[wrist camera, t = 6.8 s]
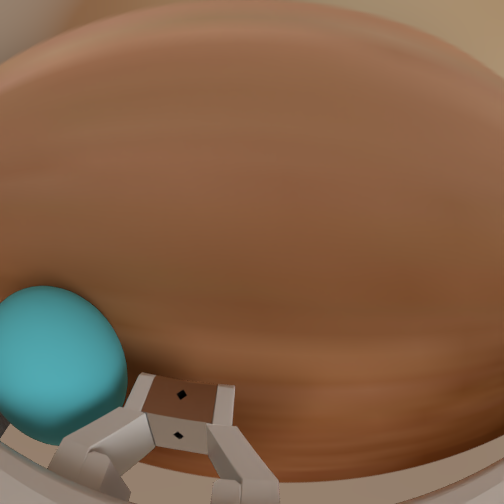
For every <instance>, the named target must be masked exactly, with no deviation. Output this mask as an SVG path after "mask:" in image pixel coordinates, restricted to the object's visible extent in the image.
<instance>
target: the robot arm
mask: <svg viewBox="0 0 504 504" xmlns="http://www.w3.org/2000/svg"><path fill="white" fill-rule="evenodd" d="M234 396H235V385H225V384H215V383H205V382H197V381H189V380H187V381H186V380H180V379H175V378H169V377H164V376H159V375H153V374H148V373H144V372H142V373H141V374H139V376H138V378H137V380H136V382H135V384H134V386H133V388H132V390H131V393H130V395H129V397H128V399H127V401H126V403H125V406H124V408H123V407H118V408H116V409H115V410H113V411H111V412H109V413H108V414H106V415H104V416H102V417H101V418H99V419H97V420H95V421H93V422H92V423H90V424H88V425H86V426H84V427H83V428H81V429H79V430H77V431H75V432H73V433H71V434H70V435H68V436H66V437H64V438H63V440H62V441H61V443H60V445H59V447H58V449H57V451H56V453H55V455H54V457H53V458H52V461H51V462H50V464H49V466H48V468H47V469H46V468H44V467H42V466H41V465H39V464H37V463H35V462H33V461H32V460H30V459H28V458H26V457H25V456H23V455H21V454H20V453H18V452H16V451H15V450H13V449H12V448H10V447H8V446H7V445H5V444H4V443H2V442H1V441H0V504H135V503H132V502H128V501H129V498H130V494H131V491H130V490H129V488H128V487H127V486H126V484H125V483H124V481H123V480H122V478H121V477H120V476H122V475H123V474H124V473H125V472H127V471H128V470H129V469H130V468H131V467H132V466H134V465H135V464H136V463H137V462H139V461H140V460H141V459H142V458H143V457H145V456H146V455H147V454H148V453H149V452H150V451H151V450H153V449H154V448H155V446H160V447H165V448H171V449H177V450H183V451H189V452H195V453H201V454H208V457H209V458H210V460H211V462H212V464H213V466H214V468H215V469H216V471H217V473H218V475H219V476H220V478H221V479H218V480H216V481H215V482H214V483H213V489H212V497H211V504H280V498H279V480H278V479H277V478H276V477H275V476H274V474H273V473H272V472H271V471H270V470H269V468H268V467H267V466H266V465H265V463H264V462H263V461H262V459H261V458H260V457H259V456H258V454H257V453H256V452H255V450H254V449H253V448H252V446H251V445H250V444H249V442H248V441H247V440H246V438H245V437H244V436H243V434H242V433H241V432H240V430H239V429H238V427H237V426H232V424H233V410H234ZM396 504H504V458H502V459H501V460H499V461H497V462H495V463H493V464H491V465H490V466H488V467H486V468H484V469H482V470H480V471H478V472H476V473H474V474H472V475H470V476H468V477H466V478H464V479H462V480H460V481H457V482H455V483H453V484H450V485H448V486H446V487H443V488H441V489H438V490H436V491H433V492H430V493H428V494H425V495H422V496H419V497H416V498H413V499H410V500H407V501H403V502H400V503H396Z"/></svg>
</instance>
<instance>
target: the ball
mask: <svg viewBox="0 0 504 504" xmlns="http://www.w3.org/2000/svg"><path fill="white" fill-rule="evenodd" d="M127 382H128V377H127V364H126V360H125V355H124V351H123V349H122V346H121V343H120V341H119V339H118V337H117V335H116V333H115V331H114V329H113V328H112V326H111V325H110V323H109V322H108V320H107V319H106V318H105V317H104V316H103V315H102V313H101V312H100V311H99V310H98V309H97V308H96V307H94V306H93V305H92V304H91V303H90V302H88V301H87V300H85V299H84V298H82V297H80V296H79V295H77V294H75V293H73V292H71V291H68V290H65V289H62V288H58V287H52V286H34V287H29V288H25V289H22V290H20V291H17V292H15V293H13V294H12V295H10V296H8V297H7V298H6V299H5V300H4V301H2V302H1V303H0V412H1V413H2V414H3V416H4V417H5V418H6V419H7V420H8V421H9V422H10V423H11V424H12V425H13V426H14V427H16V428H17V429H18V430H20V431H21V432H22V433H24V434H25V435H27V436H29V437H31V438H33V439H35V440H37V441H40V442H43V443H46V444H50V445H57V446H59V445H60V443H61V441H62V440H63V438H64V437H66V436H68V435H70V434H71V433H73V432H75V431H77V430H79V429H81V428H83V427H84V426H86V425H88V424H90V423H92V422H93V421H95V420H97V419H99V418H101V417H102V416H104V415H106V414H108V413H109V412H111V411H113V410H115V409H116V408H118V407H122V406H123V403H124V400H125V396H126V391H127Z"/></svg>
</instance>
